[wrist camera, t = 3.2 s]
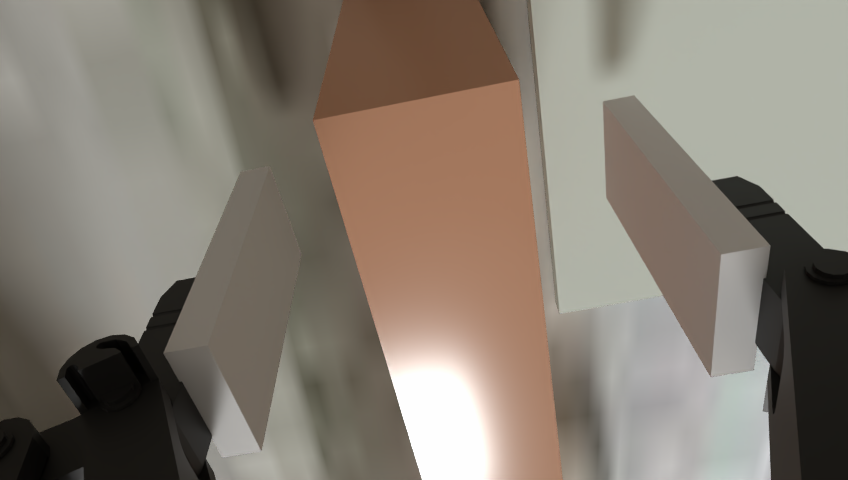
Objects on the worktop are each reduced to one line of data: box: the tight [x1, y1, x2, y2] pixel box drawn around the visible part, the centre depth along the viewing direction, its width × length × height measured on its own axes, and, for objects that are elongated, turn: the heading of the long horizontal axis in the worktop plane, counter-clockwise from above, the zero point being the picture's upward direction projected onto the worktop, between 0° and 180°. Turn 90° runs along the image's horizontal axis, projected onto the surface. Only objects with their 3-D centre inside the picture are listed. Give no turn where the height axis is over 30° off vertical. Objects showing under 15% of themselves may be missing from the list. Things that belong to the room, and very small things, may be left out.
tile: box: [313, 0, 563, 480], centre depth 14 cm, size 2×10×10 cm, turn 11°
